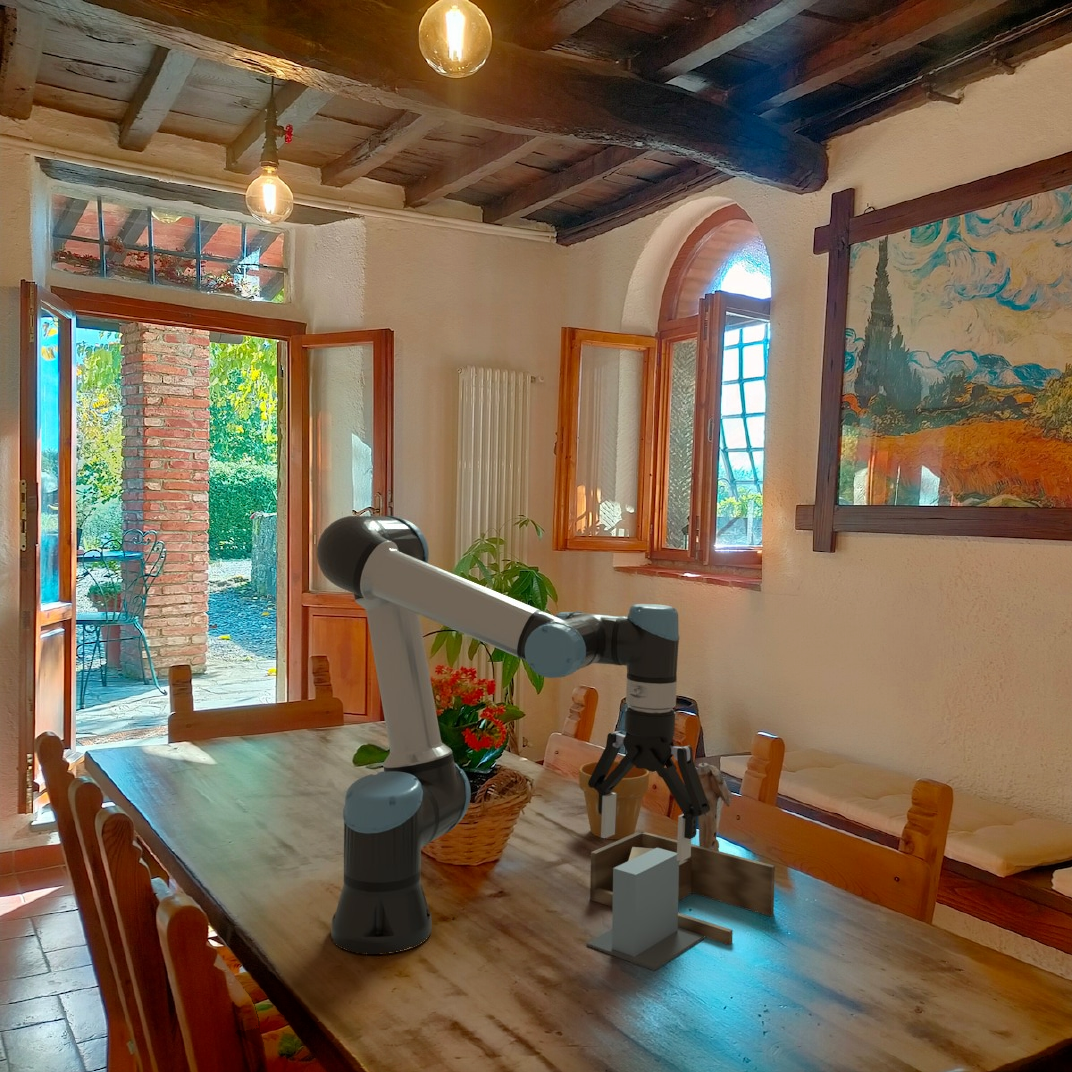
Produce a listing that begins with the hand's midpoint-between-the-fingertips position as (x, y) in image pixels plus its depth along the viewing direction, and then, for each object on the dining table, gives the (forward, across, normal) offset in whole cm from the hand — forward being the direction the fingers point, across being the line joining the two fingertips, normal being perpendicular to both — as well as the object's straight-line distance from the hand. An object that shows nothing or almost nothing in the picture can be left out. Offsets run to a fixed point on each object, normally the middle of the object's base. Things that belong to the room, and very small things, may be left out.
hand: (644, 847), depth 146 cm
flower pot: (+15, -32, +39) cm, 53 cm away
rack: (+14, -2, +15) cm, 21 cm away
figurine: (+14, -5, +34) cm, 37 cm away
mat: (+14, +1, 0) cm, 14 cm away
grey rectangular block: (+14, +1, 0) cm, 14 cm away
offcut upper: (+11, -10, +15) cm, 21 cm away
